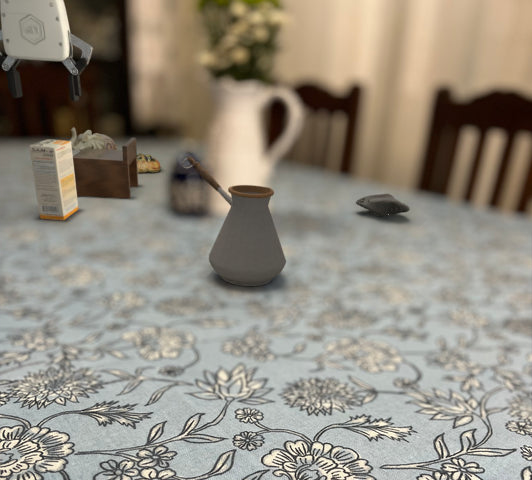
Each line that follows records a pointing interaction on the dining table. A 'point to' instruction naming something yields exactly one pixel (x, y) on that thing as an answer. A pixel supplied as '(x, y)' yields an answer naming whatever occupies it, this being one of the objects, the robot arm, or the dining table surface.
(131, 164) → the dark wooden step block
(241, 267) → the coffee pot
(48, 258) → the dining table surface
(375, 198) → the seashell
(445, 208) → the dining table surface
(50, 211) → the supplement box
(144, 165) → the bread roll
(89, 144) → the figurine
